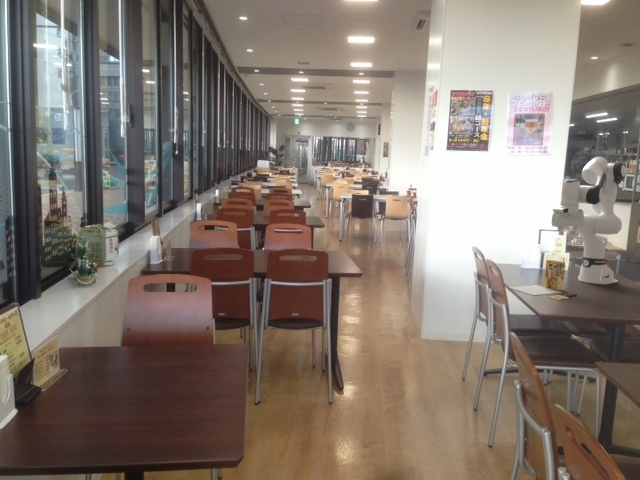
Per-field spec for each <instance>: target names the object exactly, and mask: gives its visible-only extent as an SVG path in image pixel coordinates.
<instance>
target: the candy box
mask: <svg viewBox="0 0 640 480" xmlns="http://www.w3.org/2000/svg"><path fill="white" fill-rule="evenodd" d="M565 269H566V261H560V260H556V259H555V260H554V259H547V260H546V261H545V273H544V274H545V277H544V287H545V288H549V289H552V290H556V291H563V290H564V282H565V281H564V280H565V271H566V270H565Z"/></svg>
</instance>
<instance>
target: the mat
mask: <svg viewBox="0 0 640 480" xmlns="http://www.w3.org/2000/svg"><path fill="white" fill-rule="evenodd" d="M508 289H511V290H514V291H517V292H521V293H524V294H527V295H531V296H543V295H554V294H562V293H563V292H562V291H560V290H555V289H549V288H545V286H542V285H538V284H534V285H522V286H520V285H519V286H509V287H508Z"/></svg>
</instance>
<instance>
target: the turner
mask: <svg viewBox="0 0 640 480" xmlns="http://www.w3.org/2000/svg"><path fill="white" fill-rule="evenodd" d="M577 295H578V293H577V292H576V291H575V292H570V293H564V294H562V295H561V294H557V295H552V296H551V295H550V296H548V298H549V299H551V300H556V301H564V300H569V299H570V297H573V296H577Z"/></svg>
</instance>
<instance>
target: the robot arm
mask: <svg viewBox="0 0 640 480" xmlns="http://www.w3.org/2000/svg"><path fill="white" fill-rule="evenodd" d="M626 175H627V168H626V165H625V164H624V163H622V162H618V161H617V162H608V161H607V159H606V158H604V157H603V156H596V157H595V156H594V157H593V158H592V159H591V160H590V161H588V162H587V164H586V165H584V167H583V169H582V171H581V177H582V179H583V180H584V181H585V183H587V184H588V185H586V184H585V185H583V184H580V183H581V182H580V179H577V178H567V179H565V180H564V182H563V185H562V189H561V201H560V205H558V206H556V207H554V208H553V209H552V212H553V213H552V215H551V217H552V218H551V226H552V227H555V228H557V230H558V235H559V236H564V234H565V233H564V231H563V229H564V228H567V227H570V228H571V227H572V230H571V231H570V235H572V236H573V235H576V232H577V233H579V235H580V237H581V238H582V241H583V255H582V258H581V262H582V264H581V265H580V269H579V274H578V276H577V280H578V281H579V282H584V283H586V284H587V283H588V284H597V285H610V284H614V283H615V284H616V283H619V281H618V280H617V279H615V278H614V277H615V274H614V271H613V270H612V268H610V267H609V266H608V264H607V263H609V262H610V261H611V260H610V258H605V257H606V256H605V254H606V244H605V243H604V242H603V241H602V240H600V239H599V238H598V237H597V235H596V234H599V235H617V234H619V233H620V231H621V230H622V228H623V223H622V220H621V219H620V218H619V216H617V215H616V213H615V212H614V207H615V203H616V200H617V196H618V186H617V185H619V184H621V182H622V181H624V179H625V178H626ZM589 184H590V185H589ZM579 204H589V205H592V210H593V211H594V212H595V213H596V214H595V213H585V212H584V210H583V209H582V208H580V209H579ZM563 227H564V228H563Z"/></svg>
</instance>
